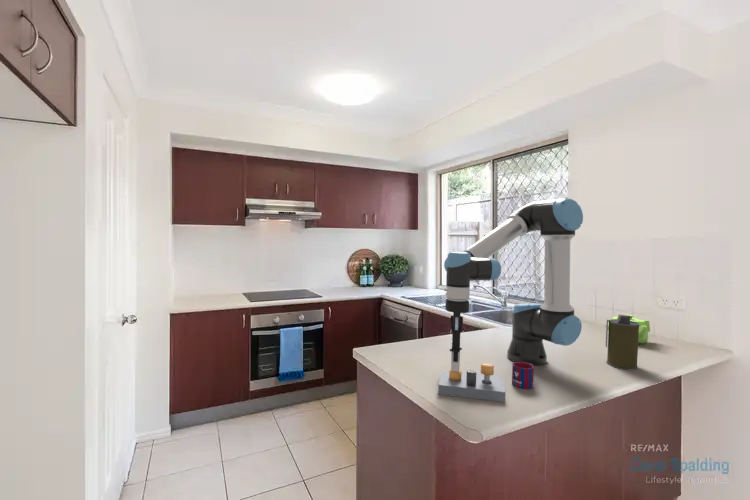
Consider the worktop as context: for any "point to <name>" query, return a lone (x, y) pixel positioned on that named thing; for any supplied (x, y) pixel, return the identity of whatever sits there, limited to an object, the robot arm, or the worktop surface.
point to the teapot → (640, 329)
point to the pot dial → (471, 378)
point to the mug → (522, 375)
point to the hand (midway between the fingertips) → (455, 370)
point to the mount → (480, 391)
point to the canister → (622, 342)
